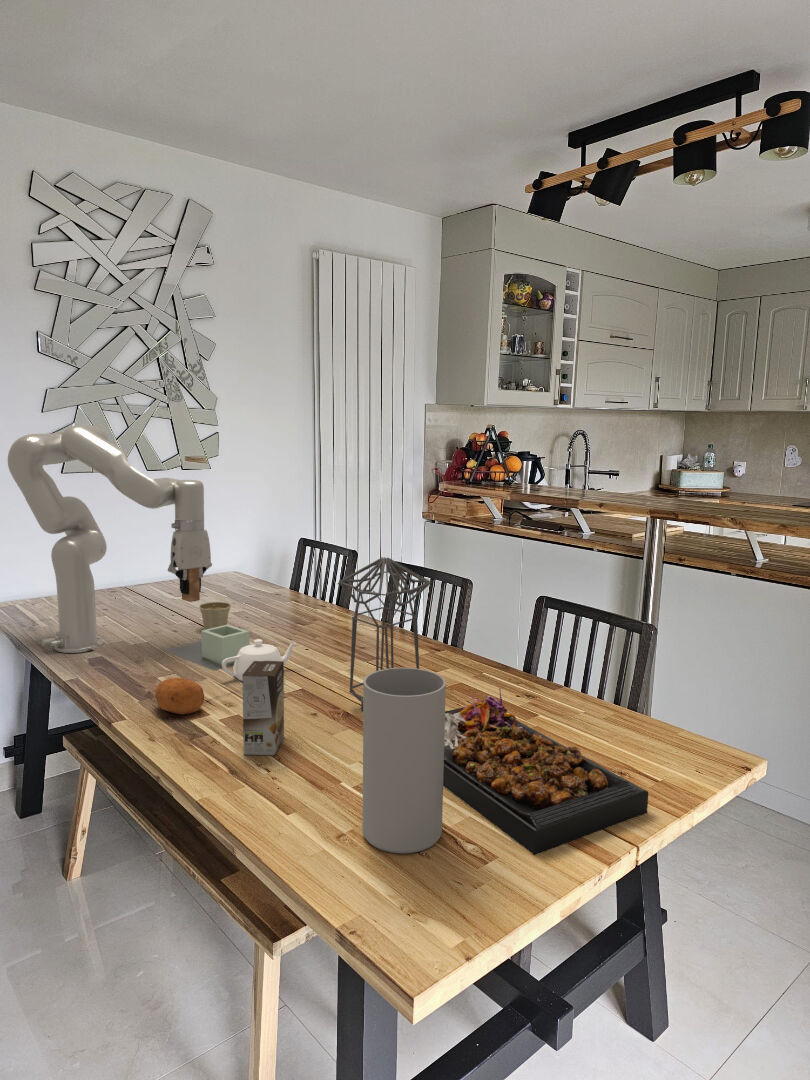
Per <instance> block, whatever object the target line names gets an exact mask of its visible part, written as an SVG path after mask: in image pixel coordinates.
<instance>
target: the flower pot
mask: <svg viewBox="0 0 810 1080" xmlns="http://www.w3.org/2000/svg"><path fill="white" fill-rule="evenodd" d="M231 607H232V604H231V603H229V602H225V601H211V602H210V601H209V602H205V603H201V604H199V606H198V608H199V610H200V613H201V616H202V622H203V623H202V624H203V630H206V629H211V628H215V627H219V626H224V625H228V621H229V613H230V609H231Z"/></svg>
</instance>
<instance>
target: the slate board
mask: <svg viewBox="0 0 810 1080" xmlns="http://www.w3.org/2000/svg"><path fill="white" fill-rule="evenodd" d="M163 651H164V652H167V653H170V654H171V655H175V656H177V657H179V658H182V659H185V660H187V661H190V662H192V663H195V664H197V665H200V666H201V667H204V668H206V669H210V670H212V671H214V672H215V671H218V670H223V669H222V667H220V666H218V665H215V664H213V663H210V662H208V661H205V660H203V659H202V642H201V640H199V641H196V642H195V641H194V642H190V643H186V644H182V645H177V646H174V647H171V648H169V647H168V648H166V649H163ZM229 667H233V665H230V666H227V668H229Z"/></svg>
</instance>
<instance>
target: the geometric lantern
mask: <svg viewBox="0 0 810 1080" xmlns="http://www.w3.org/2000/svg"><path fill="white" fill-rule="evenodd" d="M369 569H370V570H369ZM367 570H368V571H367ZM379 570H380V571H379ZM365 571H367V572H366V573H365V574H364V575H363V576H361V577H360V579H351V578H353V577H356V576H358V575H359V574H361V573H363V572H365ZM388 574H389V575H390V576H391V578H392V581H393V584H394V587H395V589H396V591H390V592H389V581H388V580H389V578H388V577H389V576H388ZM370 575H371V577H370ZM384 575H385V577H386V578H385V580H386V582H385V583H386V593H382V591H383V590H382V588H383V582H384V581H383V580H384ZM409 575H410V576H409ZM411 576H412V577H414V578H415V579H414V578H411ZM376 577H377V578H376ZM397 578H398V579H399V580H400V581H401V583H402V584H403V586H402V584H401V583H400V581H399V580H398V579H397ZM373 580H375V581H374V583H373V584H372V581H373ZM407 581H409V582H410V583H412V588H411V589H410V587H409V586H408V584H407V583H408V582H407ZM337 582H338V583H337V585H340V586H341V587H342V589H343V590H345V592H346V593H347V594H348V595H349V596H350V598H352V600H353V603H356V605H355V610H354V616H352V617H351V621H352V622H351V624H352V625H351V644H350V645H351V650H350V673H349V676H350V679H349V693H350V694H351V695H352V696H354V697H355V698H356V699H357V700H358V701H359V702H360V703H361V705H360V709H361V711H363V696H362V695H361V694H359V693H357V692H356V691H355V690H354V689H355V688H359V687H361V686H363V682H359V683H358V684H355V685H354V684H353V682H354V673H355V672H354V669H355V658H356V657H355V655H356V644H357V643H356V641H357V630H358V629H357V627H358V625H357V624H358V622H361V623H364V624H368V625H370V626H373V627H376V644H375V645H376V649H375V651H376V655H375V661H376V662H375V672H376V671H379V670H383V666H384V646H385V661H386V664H385V665H386V667H385V669H390V668H395V667H394V626H397V625H401V624H404V623H408V622H411V621H412V627H413V640H414V652H415V654H414V655H415V666H416V667H415V668H416V669H420V655H419V654H420V653H419V630H418V629H419V627H418V617H419V616H418V612H417V611H418V610H417V607H416V601H415V598H416V597H418V596H419V595H420V594H421V593H422V592H423V591H424V590H426V588H428V587H429V586H430V584H431V581H430V580H429V579H427V578H425V577H423V576H421V575H420V574H418V573H417V572H415V571H413V570H411V569H409V568H408V567H406V566H404V565H403V564H401V563H399V562H397V561H395V560H393V559H392V558H390V557H382V556H381V557H380V558H377V559H376V560H375V561H373V562H371V563H369V564H367V565H365V566H364V567H362V568H360V569H358V570H356V571H355V572H353V573H351V574H349V575H348V576H345V577H344V578H343V579H341V580H339V581H337ZM364 582H367V583H366V584H365V585H364V587H363V588H362V584H363V583H364ZM378 582H379V587H378V588H379V589H378V592H376V591H375V590H374V589H375V587H376V586H377V584H378ZM350 583H357V584H356V586H354V585H353V584H350ZM416 583H423V584H421V585H419V586H416V587H415V584H416ZM349 588H351V589H352V592H351V591H350V590H349ZM367 588H368V589H367ZM399 588H400V589H399ZM356 592H358V595H357V598H356V594H355V593H356ZM406 593H407V594H408V600H406V601H404V602H402V599H401V598H402V597H401V595H402V594H406ZM396 594H397V595H396ZM363 595H371V597H369V599H367V600H365V601H364V597H363ZM372 595H373V596H372ZM392 595H396V598H395V597H393V596H392ZM379 596H387V597H388V598H389V599H390V600H391V601H393V602H392V603H391V606H390V607H387V606H386V605H385V603H384V601H383V600H382V599H381V598H380V597H379ZM360 599H361V600H360ZM375 599H378V600H379V601H380V602H381V604H382V605H383V607H382V606H381V607H377V608H374V609H373V608H372V609H370V607H369V606H368V603H370V602H371V601H373V600H375ZM412 602H413V604H412ZM360 604H361V605H364V607H365V608H366V610H365V611H362V612H359V609H360ZM407 604H409V608H410V612H407V611H404V610H400V608H401V607H402V606H406V605H407ZM395 605H397V606H398V607H397V608H394V606H395ZM413 606H414V607H413ZM378 610H382V624H380V625H379V624H378V621H377V620H376V619H375V616H374V615H373V613H372V612H376V611H378ZM386 611H389V614H390V618H389V620H388V621H387V623H385V622H386ZM393 611H394V613H393ZM414 611H415V612H414ZM397 612H399V613H403V614H406V615H409V616H411V617H412V618H409V619H406V620H402V621H397V622H395V623H394V616H395V615H396V613H397ZM364 614H369V616H370V617H371V620H372V621H373V622H374V623H372V622H368V621H366V620H363V619H360V618H358V616H360V615H364ZM385 624H386V625H385ZM388 628H390V656H389V641H388V637H389V636H388ZM380 629H381V646H380ZM384 642H385V643H384ZM380 647H381V648H380ZM379 657H380V658H379ZM389 657H390V660H389ZM379 660H380V663H379ZM389 661H390V662H391V663H390V662H389ZM379 664H380V665H379ZM390 664H391V665H390ZM379 666H380V667H379ZM379 668H380V669H379Z"/></svg>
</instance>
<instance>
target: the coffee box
mask: <svg viewBox="0 0 810 1080" xmlns="http://www.w3.org/2000/svg"><path fill="white" fill-rule="evenodd" d="M284 670H285V665H284V662H283V661H253V663H252V664H251V665H250V666H249V668H248V669H247V670H246V671H245V672H244V673H243V675H242V677H243V681H242V726H243V727H242V729H243V730H242V731H243V733H242V734H243V735H242V736H243V738H242V739H243V755H248V756H249V755H250V756H252V755H253V756H275V755H276V753H277V751H278V749H279V748H280V745H281V743H282V741H283V739H284V737H285V691H284V690H285V679H284V678H285V677H284V676H285V675H284V673H285V671H284Z"/></svg>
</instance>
